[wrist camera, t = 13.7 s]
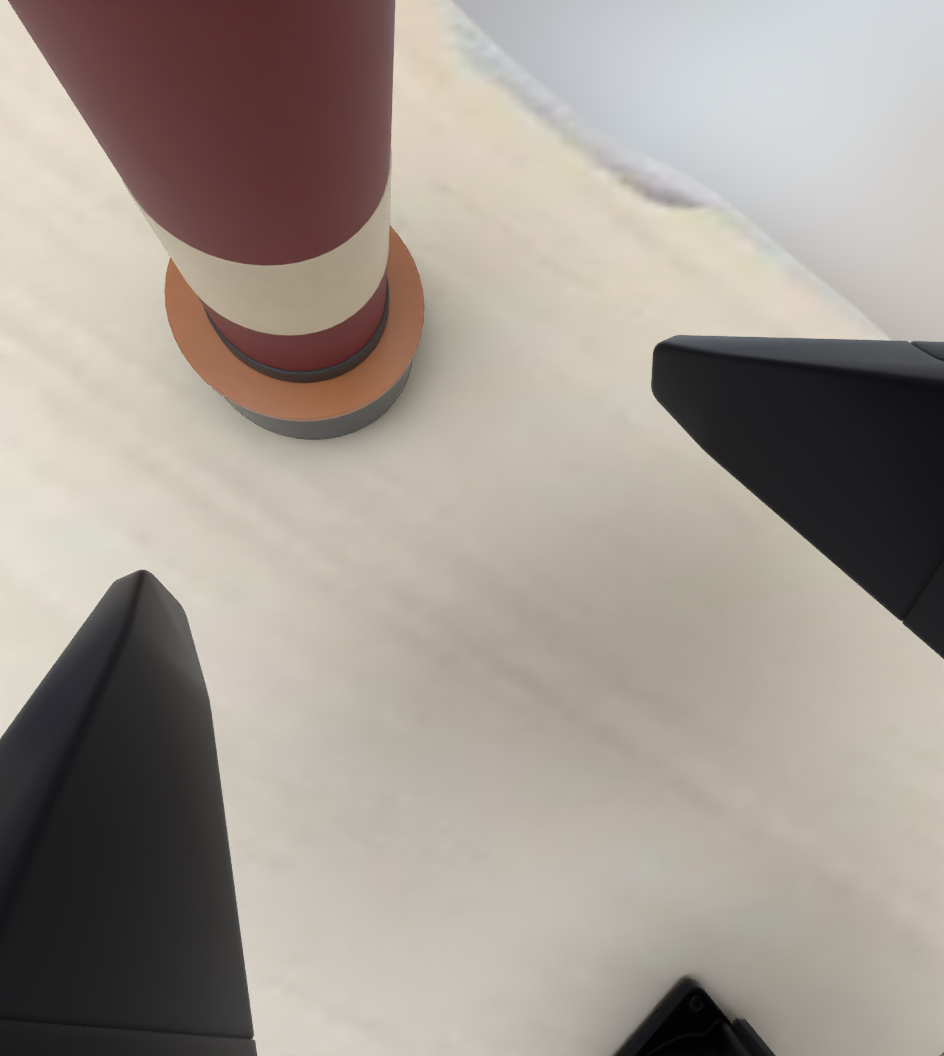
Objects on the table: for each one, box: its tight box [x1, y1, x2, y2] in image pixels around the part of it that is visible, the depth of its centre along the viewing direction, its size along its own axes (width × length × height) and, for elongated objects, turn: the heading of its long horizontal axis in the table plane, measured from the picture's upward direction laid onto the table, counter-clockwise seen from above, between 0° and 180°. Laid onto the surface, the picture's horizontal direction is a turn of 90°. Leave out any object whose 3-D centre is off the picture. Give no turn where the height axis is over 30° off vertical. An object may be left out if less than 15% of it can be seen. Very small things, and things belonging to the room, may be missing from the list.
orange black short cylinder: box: [165, 226, 424, 439], centre depth 18 cm, size 8×8×3 cm
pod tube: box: [8, 0, 395, 383], centre depth 10 cm, size 5×5×14 cm
